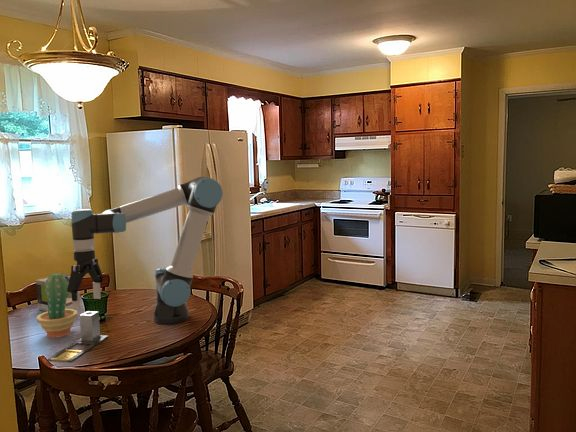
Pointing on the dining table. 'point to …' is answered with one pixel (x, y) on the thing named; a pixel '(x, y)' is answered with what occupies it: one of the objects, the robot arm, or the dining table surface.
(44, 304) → the tea box
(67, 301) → the lidded jar
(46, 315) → the potted cactus
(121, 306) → the dining table surface
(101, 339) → the grey flat rectangular frame
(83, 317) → the grey rectangular block
